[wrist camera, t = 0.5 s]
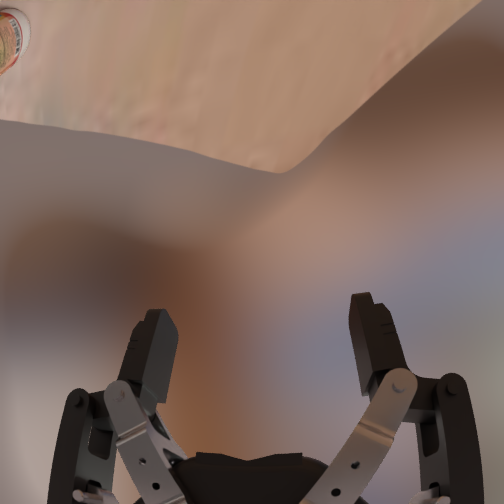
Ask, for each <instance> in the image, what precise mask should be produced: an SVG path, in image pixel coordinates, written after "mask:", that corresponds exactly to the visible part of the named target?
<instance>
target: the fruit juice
mask: <svg viewBox="0 0 504 504" xmlns="http://www.w3.org/2000/svg"><path fill="white" fill-rule="evenodd" d="M30 34H31V30H30V24H29V21H28V19H27V17H26V16H25V14H24V13H22V12H21V11H19V10H17V9H5V10H2V11H0V76H1V75H2V74H3V73H4V72H6V71H7V70H8V69H9V68H10V67H12V66H13V65H14V64H15V63H16V62H17V61H18V60H19V59H20V58H21V57H22V56H23V54H24V53H25V51H26V49H27V47H28V44H29V41H30Z"/></svg>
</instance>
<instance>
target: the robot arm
mask: <svg viewBox="0 0 504 504" xmlns="http://www.w3.org/2000/svg"><path fill="white" fill-rule="evenodd" d="M349 330H350V335H351V339H352V344H353V349H354V354H355V359H356V364H357V370H358V375H359V381H360V387H361V393H362V396H368V395H369V398H370V404H369V406H368V408H367V410H366V411H365V413H364V415H363V416H362V418H361V419H360V421H359V423H358V424H357V426H356V427H355V429H354V430H353V432H352V434H351V435H350V437H349V438H348V440H347V441H346V443H345V444H344V446H343V447H342V449H341V450H340V451H339V453H338V454H337V456H336V457H335V459H334V460H333V462H332V463H331V464H330V466H328V465H326V464H324V463H323V462H321V461H318V460H316V459H313V458H309V457H304V456H302V453H289V454H274V455H270V456H266V457H263V458H259V459H254V460H249V461H246V460H242V459H238V458H234V457H230V456H227V455H224V454H216V453H203V452H197V453H196V457H191V458H187V456H186V454H185V453H184V452H183V450H182V449H181V448H180V447H179V446H178V445H177V444H176V443H175V441H174V440H173V438H172V436H171V434H170V433H169V431H168V429H167V427H166V426H165V424H164V422H163V420H162V419H161V417H160V415H159V413H158V411H157V410H156V405H157V403H166V398H167V392H168V387H169V382H170V377H171V372H172V368H173V363H174V357H175V353H176V349H177V344H178V331H177V328H176V326H175V325H174V323H173V321H172V319H171V318H170V316H169V314H168V312H167V311H166V309H149V310H148V311H147V313H146V316H145V319H144V321H140V322H139V323H138V324H137V325H136V327H135V328H134V329H133V331H132V335H131V337H130V342H129V343H128V347H127V350H126V353H125V356H124V360H123V362H122V366H121V369H120V373H119V376H118V379H117V380H116V381H114V382H112V383H111V384H109V385H108V387H107V388H106V390H104V391H99V392H95V393H88V392H86V391H85V390H84V389H81V388H77V389H75V390H73V391H72V392H71V393H70V394H69V395H68V397H67V400H66V403H65V407H64V412H63V416H62V419H61V424H60V428H59V432H58V437H57V442H56V447H55V452H54V458H53V463H52V469H51V476H50V483H49V491H48V500H47V504H119V502H118V501H117V500H116V498H115V496H114V494H113V493H112V483H113V474H114V466H115V458H116V450H117V449H118V451H119V453H120V455H121V458H122V459H123V462H124V464H125V466H126V468H127V470H128V472H129V474H130V476H131V478H132V480H133V482H134V484H135V486H136V487H137V490H138V491H139V493H140V495H141V498H139V499H138V500H137V501H136V502H135V503H134V504H368V503H367V502H366V501H365V500H364V499H363V498H362V497H361V496H360V495H361V493H362V492H363V490H364V489H365V487H366V486H367V485H368V483H369V481H370V480H371V479H372V477H373V475H374V474H375V472H376V471H377V469H378V468H379V466H380V464H381V463H382V461H383V459H384V458H385V456H386V454H387V453H388V451H389V449H390V447H391V445H392V443H393V441H394V436H395V434H396V432H397V430H398V428H399V426H400V424H401V422H411V423H415V425H416V433H417V442H418V452H419V463H420V478H421V492H419V493H417V494H416V495H415V496H413V497H412V499H411V500H410V502H409V504H484V490H483V489H484V488H483V475H482V464H481V456H480V448H479V441H478V435H477V430H476V424H475V419H474V414H473V409H472V404H471V400H470V396H469V392H468V388H467V384H466V382H465V380H464V379H463V377H461V376H460V375H458V374H456V373H448V374H445V375H444V376H443V377H441V379H432V378H422V377H419V376H417V375H415V374H414V373H412V372H411V371H410V369H409V368H408V366H407V364H406V361H405V358H404V354H403V351H402V347H401V344H400V341H399V338H398V334H397V333H396V328H395V325H394V322H393V319H392V316H391V313H390V311H389V310H388V309H387V308H386V307H385V305H384V304H383V303H379V304H374V302H373V299H372V296H371V294H370V292H365V293H358V294H352V296H351V303H350V311H349ZM91 427H92V428H91ZM90 431H91V433H90ZM89 436H90V438H89ZM88 441H89V444H88Z"/></svg>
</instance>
